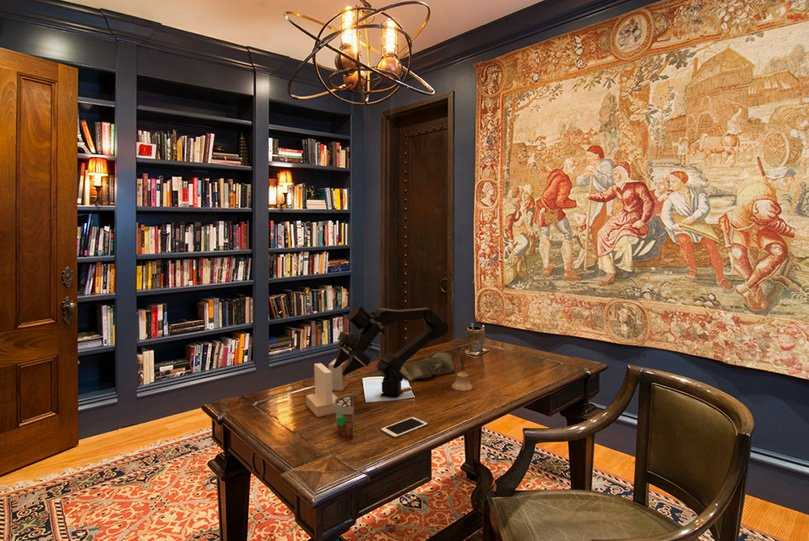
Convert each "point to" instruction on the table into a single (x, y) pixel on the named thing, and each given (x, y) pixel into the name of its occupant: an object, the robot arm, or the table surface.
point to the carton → (320, 409)
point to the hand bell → (462, 375)
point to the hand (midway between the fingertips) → (338, 371)
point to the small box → (338, 376)
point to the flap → (322, 387)
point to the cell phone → (403, 427)
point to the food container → (345, 415)
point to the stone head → (428, 367)
